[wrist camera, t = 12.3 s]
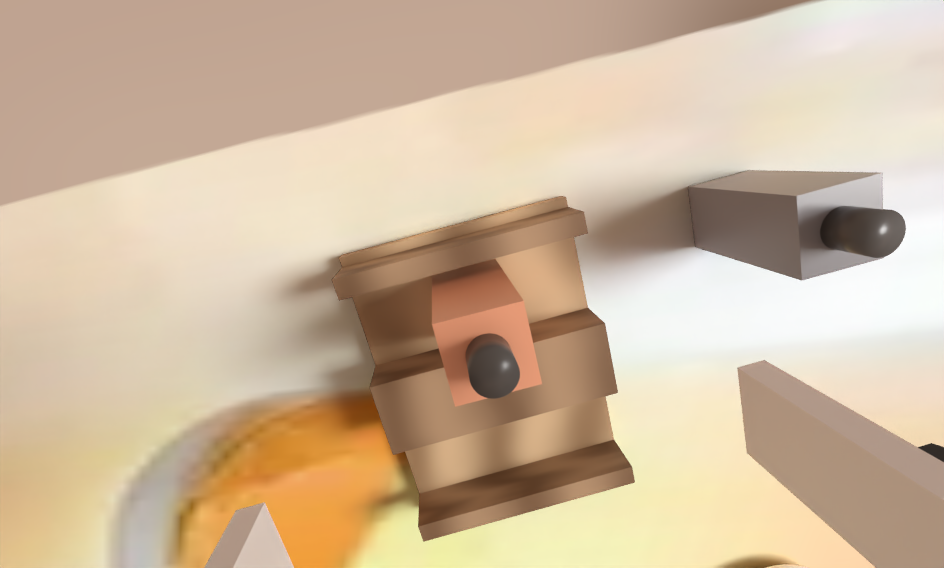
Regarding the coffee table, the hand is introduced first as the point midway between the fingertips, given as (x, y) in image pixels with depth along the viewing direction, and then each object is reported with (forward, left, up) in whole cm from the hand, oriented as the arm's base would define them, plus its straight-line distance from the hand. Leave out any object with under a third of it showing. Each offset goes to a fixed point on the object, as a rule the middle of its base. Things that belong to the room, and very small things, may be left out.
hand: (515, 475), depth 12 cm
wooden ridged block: (0, -5, -18) cm, 18 cm away
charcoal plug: (+17, +1, -18) cm, 25 cm away
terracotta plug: (0, 0, -17) cm, 17 cm away
